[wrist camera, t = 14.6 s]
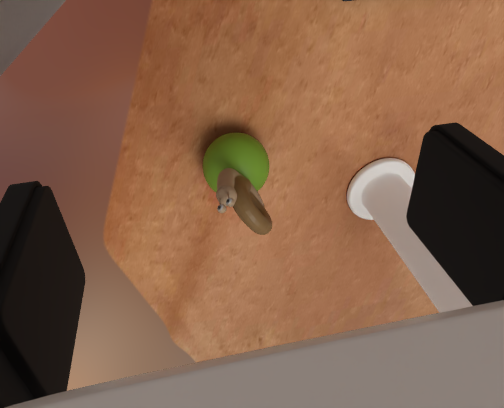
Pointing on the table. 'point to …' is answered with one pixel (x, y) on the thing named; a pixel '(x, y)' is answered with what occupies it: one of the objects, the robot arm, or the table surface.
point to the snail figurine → (239, 177)
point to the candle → (401, 226)
